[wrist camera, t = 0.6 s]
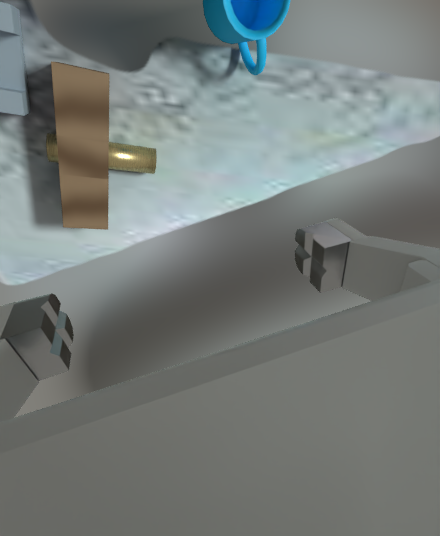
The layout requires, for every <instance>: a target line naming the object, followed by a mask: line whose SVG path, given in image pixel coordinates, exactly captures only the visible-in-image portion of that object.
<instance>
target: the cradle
mask: <svg viewBox="0 0 440 536" xmlns="http://www.w3.org/2000/svg"><path fill="white" fill-rule="evenodd" d="M0 112H3V113H9V114H16V115H22V116H25V115H27V114H28V113H30V103H29V94H28V85H27V76H26V67H25V58H24V49H23V40H22V31H21V22H20V13H19V9H17V8H16V7H14V6H12V5H10V4H7V3H3V2H0Z"/></svg>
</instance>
